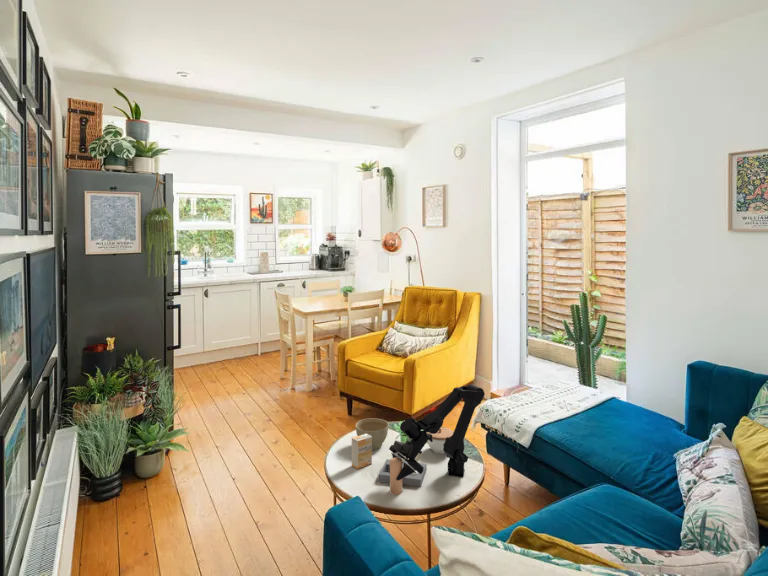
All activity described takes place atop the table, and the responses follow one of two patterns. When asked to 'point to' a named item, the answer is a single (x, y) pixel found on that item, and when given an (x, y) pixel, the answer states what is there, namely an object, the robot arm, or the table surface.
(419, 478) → the plate
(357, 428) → the planter bowl
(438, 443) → the lidded bowl
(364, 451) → the supplement box
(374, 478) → the table surface
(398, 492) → the cylinder
